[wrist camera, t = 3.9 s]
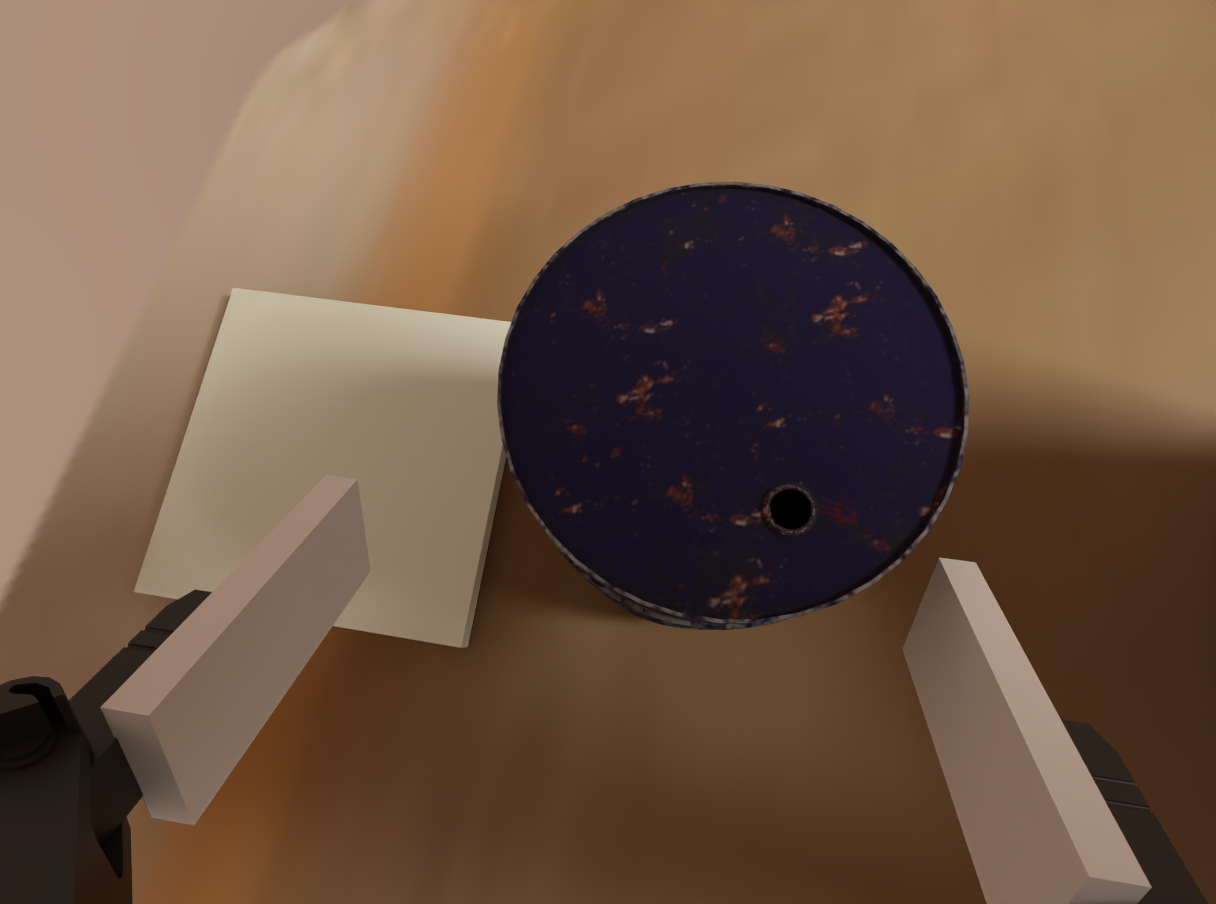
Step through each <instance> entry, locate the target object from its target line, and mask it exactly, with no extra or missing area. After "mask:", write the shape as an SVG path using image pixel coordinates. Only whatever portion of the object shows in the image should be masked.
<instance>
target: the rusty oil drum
mask: <svg viewBox="0 0 1216 904" xmlns="http://www.w3.org/2000/svg"><path fill="white" fill-rule="evenodd" d="M497 409H498V417H499V425H500V433H501V440H502V444H503V447H504V450H505V454H506V457H507V460H508V464H509V467H510V471H511V474H512V476H513V478H514V480H515V482H516V484H517V486H518V488H519V490H520V492H521V494H522V496H523V498H524V500H525V502H526V505H527V506H528V508H529V509H530V511H531V512H532V513H533V515H534V516H535V518H536V519H537V520H538V522H539V523H540V525H541V526H542V528H543V529H544V530H545V532H546V533H547V535H548V536H549V537H550V539H551V540H552V541H553V543H554V544H555V546H556V547H557V549H558V550H559V551H560V553H561V554H562V555H563V556H564V557H565V558H566V559H567V560H568V561H569V562H570V563H571V564H572V565H573V566H574V567H575V568H576V569H577V570H578V571H579V572H580V573H581V575H582V576H583V577H585V578H586V579H587V580H588V581H589V582H590V583H591V584H592V585H594V586H595V587H596V588H598V589H599V590H600V591H602V592H603V593H604V594H605V595H606V596H607V597H609V598H610V599H611V600H613V601H614V602H615V603H617V604H618V605H619V606H621V607H622V608H623V609H625V610H627V611H629V612H631V613H633V614H635V615H637V616H639V617H641V618H643V619H646V620H649V621H652V622H655V623H658V624H661V625H666V626H672V627H679V628H685V629H699V630H731V629H744V628H750V627H756V626H762V625H768V624H774V623H778V622H781V621H784V620H786V619H789V618H794V617H800V616H803V615H806V614H809V613H812V612H815V611H817V610H820V609H823V608H826V607H829V606H832V605H835V604H838V603H840V602H842V601H843V600H845V599H847V598H849V597H851V596H853V595H855V594H856V593H858V592H860V591H862V590H864V589H866V588H867V587H869V586H871V585H873V584H874V583H875V582H877V581H878V580H879V579H880V578H882V577H883V576H884V575H885V574H887V573H888V572H889V571H891V570H892V569H893V568H894V567H896V566H897V565H898V564H899V563H901V562H902V561H903V560H904V559H905V558H906V557H907V556H908V554H909V553H910V552H911V551H912V550H913V549H914V548H915V547H916V545H917V544H918V543H919V542H920V541H921V540H922V539H923V538H924V537H925V535H926V534H927V533H928V532H929V530H930V529H931V527H932V525H933V524H934V522H935V520H936V519H937V517H938V516H939V514H940V512H941V511H942V509H943V507H944V506H945V504H946V503H947V501H948V498H949V496H950V493H951V491H952V488H953V486H954V483H955V481H956V478H957V476H958V473H959V471H960V468H961V464H962V459H963V454H964V449H965V444H966V439H967V434H968V412H969V393H968V386H967V380H966V373H965V366H964V360H963V357H962V354H961V351H960V348H959V345H958V342H957V339H956V336H955V332H954V329H953V327H952V325H951V323H950V321H949V319H948V317H947V315H946V313H945V311H944V309H943V307H942V305H941V303H940V301H939V299H938V297H937V296H936V294H935V293H934V292H933V290H932V289H931V287H930V286H929V285H928V283H927V282H926V281H925V279H924V278H923V276H922V275H921V274H920V272H919V271H918V270H917V268H916V267H915V266H914V265H913V264H912V263H911V262H910V261H909V260H908V259H907V258H906V257H905V256H904V255H903V254H902V253H901V252H900V251H899V250H898V249H897V248H896V247H895V246H894V245H893V244H892V243H891V242H890V241H888V240H887V239H886V238H884V237H883V236H882V235H880V234H879V233H878V232H876V231H875V230H874V229H872V228H871V227H870V226H869V225H867V224H866V223H865V222H863V221H861V220H859V219H857V218H856V217H854V216H852V215H850V214H848V213H847V212H845V211H843V210H841V209H839V208H838V207H836V206H834V205H831V204H829V203H826V202H824V201H821V200H819V199H816V198H813V197H811V196H808V195H806V194H803V193H800V192H795V191H791V190H787V189H783V188H779V187H774V186H770V185H762V184H752V183H742V182H713V183H698V184H692V185H686V186H680V187H674V188H669V189H665V190H662V191H659V192H656V193H652V194H649V195H646V196H643V197H640V198H637V199H634V200H632V201H630V202H628V203H626V204H624V205H622V206H620V207H618V208H616V209H614V210H611V211H609V212H607V213H605V214H604V215H602V216H601V217H600V218H598V219H597V220H595V221H594V222H592V223H591V224H589V225H588V226H586V227H585V228H583V229H582V230H580V231H579V232H578V233H576V234H575V235H574V236H573V237H572V238H571V239H570V240H569V241H568V242H567V243H565V244H564V245H563V246H562V247H561V248H560V249H559V250H558V251H557V252H556V253H554V255H553V256H552V257H551V258H550V260H549V261H548V262H547V263H546V265H545V266H544V267H543V268H542V269H541V271H540V272H539V273H538V274H537V276H536V277H535V278H534V279H533V281H532V283H531V285H530V286H529V288H528V290H527V291H526V293H525V295H524V297H523V298H522V300H521V302H520V303H519V305H518V307H517V309H516V312H515V314H514V317H513V320H512V322H511V325H510V327H509V330H508V333H507V335H506V338H505V342H504V347H503V352H502V356H501V361H500V366H499V371H498V393H497Z"/></svg>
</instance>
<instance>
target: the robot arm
mask: <svg viewBox="0 0 1216 904" xmlns="http://www.w3.org/2000/svg"><path fill="white" fill-rule="evenodd" d="M370 571H371V569H370V562H369V555H368V548H367V541H366V534H365V528H364V521H363V514H362V507H361V500H360V493H359V486H358V479H352V478H345V477H337V476H330V475H326V476H325V477H324V478H323V479H322V480H321V481H320V482H319V483H318V484H317V485H316V486H315V487H314V488H313V489H312V490H311V491H310V492H309V493H308V494H307V495H306V496H305V497H304V498H303V499H302V500H301V501H300V502H299V504H298V505H297V506H296V507H295V508H294V509H293V510H292V511H291V512H290V513H289V514H288V515H287V516H286V517H285V518H284V519H283V520H282V521H281V522H280V523H279V524H278V525H277V526H276V527H275V528H274V529H273V530H272V531H271V532H270V533H269V534H268V535H267V536H266V537H265V539H264V540H263V541H262V542H261V543H260V544H259V545H258V546H257V547H256V548H255V549H254V550H253V551H252V552H251V553H250V554H249V555H248V556H247V557H246V558H245V559H244V560H243V561H242V562H241V563H240V564H239V565H238V566H237V567H236V568H235V569H234V570H233V571H232V572H231V573H230V575H229V576H228V577H227V578H226V579H225V580H224V581H223V582H222V583H221V584H220V585H219V586H218V587H217V588H216V589H215V590H214V591H213V592H209V591H203V590H196V589H195V590H193V591H191V592H190V593H188V594H186V595H185V596H183V597H181V598H179V599H178V600H176V601H174V602H173V603H171V604H169V605H167V606H166V607H165V608H164V609H163V610H162V611H161V612H160V613H159V614H158V615H157V616H156V617H155V618H154V619H153V620H152V621H151V622H150V623H149V624H148V625H146V628H145V630H144V631H143V630H141V631H140V632H139V633H138V634H137V635H136V636H135V637H134V638H133V639H132V640H131V641H130V642H129V643H128V647H127V648H125V647H124V648H123V649H122V650H121V651H120V652H119V653H118V654H117V655H116V656H114V657H113V658H112V659H111V660H110V661H109V662H108V663H107V664H106V665H105V666H104V667H103V668H102V669H101V670H100V671H99V672H98V673H97V674H96V675H95V676H94V677H93V678H92V679H91V680H90V681H89V682H88V683H87V684H86V685H85V686H83V687H82V688H81V689H80V690H79V691H78V692H77V693H76V694H75V695H74V696H73V697H72V698H71V699H70V700H69V701H68V699H67V697H66V695H65V693H64V691H63V689H62V687H61V685H60V683H58V682H56V681H54V680H53V679H51V678H49V677H33V676H32V677H27V678H22V679H17V680H11V681H9V682H6V683H4V684H2V685H0V904H132V866H131V828H130V826H129V823H128V820H127V817H126V816H127V815H128V814H129V813H130V811H131V810H132V809H133V808H134V806H135V805H136V804H137V802H138V801H139V800H140V799H141V797H142V798H143V800H144V802H145V804H146V806H147V809H148V811H149V813H150V815H151V817H152V818H156V819H161V820H167V821H172V822H177V823H183V824H188V825H195V824H196V823H197V821H198V820H199V818H200V817H201V815H202V814H203V813H204V811H205V810H206V808H207V807H208V805H209V804H210V802H211V801H212V800H213V798H214V797H215V795H216V794H217V792H218V791H219V789H220V788H221V787H222V785H223V784H224V782H225V781H226V779H227V778H228V776H229V775H230V774H231V772H232V771H233V769H234V768H235V766H236V765H237V763H238V762H239V761H240V759H241V758H242V756H243V755H244V753H245V752H246V750H247V749H248V748H249V746H250V745H251V743H252V742H253V740H254V739H255V737H256V736H257V735H258V733H259V732H260V730H261V729H262V727H263V726H264V724H265V723H266V722H267V720H268V719H269V717H270V716H271V714H272V713H273V711H274V710H275V709H276V707H277V706H278V704H279V703H280V701H281V700H282V698H283V697H284V696H285V694H286V693H287V691H288V690H289V688H290V687H291V685H292V684H293V683H294V681H295V680H296V678H297V677H298V675H299V674H300V672H301V671H302V670H303V668H304V667H305V665H306V664H307V662H308V661H309V659H310V658H311V657H312V655H313V654H314V652H315V651H316V649H317V648H318V646H319V645H320V644H321V642H322V641H323V639H324V638H325V636H326V635H327V633H328V632H329V631H330V629H331V628H332V626H333V625H334V623H335V622H336V620H337V619H338V618H339V616H340V615H341V613H342V612H343V610H344V609H345V608H346V606H347V605H348V603H349V602H350V600H351V599H352V597H353V596H354V595H355V593H356V592H357V590H358V589H359V587H360V586H361V584H362V583H363V582H364V580H365V579H366V577H367V576H368V574H369V573H370ZM902 650H903V653H904V656H905V659H906V662H907V665H908V668H909V671H910V674H911V677H912V680H913V683H914V686H915V689H916V692H917V695H918V698H919V701H920V704H921V707H922V710H923V713H924V716H925V719H926V722H927V725H928V728H929V731H930V734H931V737H932V740H933V743H934V746H935V749H936V752H937V755H938V758H939V761H940V764H941V767H942V770H943V774H944V777H945V780H946V783H947V786H948V789H949V792H950V795H951V798H952V801H953V804H954V807H955V810H956V813H957V816H958V819H959V822H960V825H961V828H962V831H963V834H964V837H965V840H966V843H967V846H968V849H969V852H970V855H971V858H972V861H973V864H974V867H975V870H976V873H977V876H978V879H979V882H980V885H981V888H982V891H983V894H984V897H985V900H986V903H987V904H1208V903H1207V902H1206V900H1205V898H1204V897H1203V895H1202V893H1201V892H1200V890H1199V888H1198V887H1197V885H1196V883H1195V882H1194V880H1193V878H1192V877H1191V875H1190V873H1189V872H1188V870H1187V868H1186V867H1185V865H1184V863H1183V862H1182V860H1181V858H1180V857H1179V855H1178V853H1177V852H1176V850H1175V848H1174V847H1173V845H1172V843H1171V842H1170V840H1169V838H1168V837H1167V835H1166V833H1165V832H1164V830H1163V828H1162V827H1161V825H1160V823H1159V822H1158V820H1157V818H1156V817H1155V815H1154V813H1153V812H1150V811H1149V805H1148V803H1147V802H1146V800H1145V798H1144V797H1143V795H1142V793H1141V792H1140V790H1139V788H1138V787H1135V786H1134V780H1133V778H1132V776H1131V775H1130V773H1129V771H1128V770H1127V768H1126V766H1125V765H1124V763H1123V761H1122V760H1121V758H1120V756H1119V755H1118V753H1117V752H1116V751H1115V750H1114V749H1113V748H1112V747H1111V746H1110V745H1109V744H1108V743H1107V742H1106V741H1105V740H1104V739H1103V738H1102V737H1101V736H1100V735H1099V734H1098V733H1097V732H1096V731H1095V730H1094V729H1093V728H1092V727H1091V726H1090V725H1089V724H1084V723H1078V722H1071V721H1065V720H1061V719H1060V717H1059V715H1058V713H1057V712H1056V710H1055V708H1054V706H1053V704H1052V702H1051V701H1050V699H1049V697H1048V695H1047V693H1046V691H1045V689H1044V688H1043V686H1042V684H1041V682H1040V680H1039V678H1038V677H1037V675H1036V673H1035V671H1034V669H1033V667H1032V665H1031V664H1030V662H1029V660H1028V658H1027V656H1026V654H1025V653H1024V651H1023V649H1022V647H1021V645H1020V643H1019V641H1018V640H1017V638H1016V636H1015V634H1014V632H1013V630H1012V629H1011V627H1010V625H1009V623H1008V621H1007V619H1006V617H1005V616H1004V614H1003V612H1002V610H1001V608H1000V606H999V605H998V603H997V601H996V599H995V597H994V595H993V593H992V592H991V590H990V588H989V586H988V584H987V582H986V581H985V579H984V577H983V575H982V573H981V571H980V569H979V568H978V566H977V564H976V562H969V561H961V560H954V559H947V558H939V559H938V561H937V564H936V566H935V569H934V571H933V574H932V576H931V579H930V581H929V583H928V586H927V588H926V591H925V593H924V596H923V598H922V601H921V603H920V606H919V608H918V611H917V613H916V616H915V618H914V621H913V623H912V626H911V628H910V631H909V633H908V636H907V638H906V641H905V643H904V646H903V648H902Z"/></svg>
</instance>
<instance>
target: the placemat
mask: <svg viewBox="0 0 1216 904" xmlns="http://www.w3.org/2000/svg"><path fill="white" fill-rule="evenodd" d="M510 325H511V322H507V321H498V320H490V319H482V318H474V317H466V316H458V315H450V314H442V313H434V312H426V311H418V310H409V309H401V308H393V307H385V306H377V305H369V304H361V303H353V302H345V301H337V300H329V299H320V298H312V297H304V296H296V295H288V294H280V293H272V292H264V291H256V290H248V289H240V288H233V290H232V293H231V296H230V299H229V302H228V305H227V308H226V311H225V314H224V317H223V320H222V323H221V326H220V329H219V332H218V335H217V339H216V342H215V345H214V348H213V351H212V354H211V357H210V360H209V363H208V366H207V369H206V372H205V375H204V378H203V381H202V384H201V387H200V390H199V394H198V397H197V400H196V403H195V406H194V409H193V412H192V415H191V418H190V421H189V424H188V427H187V430H186V433H185V436H184V439H183V442H182V445H181V448H180V452H179V455H178V458H177V461H176V464H175V467H174V470H173V473H172V476H171V479H170V482H169V485H168V488H167V491H166V494H165V497H164V500H163V503H162V507H161V510H160V513H159V516H158V519H157V522H156V525H155V528H154V531H153V534H152V537H151V540H150V543H149V546H148V549H147V552H146V555H145V558H144V562H143V565H142V568H141V571H140V574H139V577H138V580H137V583H136V586H135V589H134V592H137V593H142V594H148V595H154V596H160V597H166V598H172V599H179V598H181V597H183V596H185V595H186V594H188V593H190V592H191V591H193V590H195V589H196V590H203V591H209V592H213V591H214V590H215V589H216V588H217V587H218V586H219V585H220V584H221V583H222V582H223V581H224V580H225V579H226V578H227V577H228V576H229V575H230V573H231V572H232V571H233V570H234V569H235V568H236V567H237V566H238V565H239V564H240V563H241V562H242V561H243V560H244V559H245V558H246V557H247V556H248V555H249V554H250V553H251V552H252V551H253V550H254V549H255V548H256V547H257V546H258V545H259V544H260V543H261V542H262V541H263V540H264V539H265V537H266V536H267V535H268V534H269V533H270V532H271V531H272V530H273V529H274V528H275V527H276V526H277V525H278V524H279V523H280V522H281V521H282V520H283V519H284V518H285V517H286V516H287V515H288V514H289V513H290V512H291V511H292V510H293V509H294V508H295V507H296V506H297V505H298V504H299V502H300V501H301V500H302V499H303V498H304V497H305V496H306V495H307V494H308V493H309V492H310V491H311V490H312V489H313V488H314V487H315V486H316V485H317V484H318V483H319V482H320V481H321V480H322V479H323V478H324V477H325V476H326V475H330V476H337V477H345V478H352V479H358V486H359V493H360V500H361V507H362V514H363V521H364V528H365V534H366V541H367V548H368V555H369V562H370V569H371V571H370V573H369V574H368V576H367V577H366V579H365V580H364V582H363V583H362V584H361V586H360V587H359V589H358V590H357V592H356V593H355V595H354V596H353V597H352V599H351V600H350V602H349V603H348V605H347V606H346V608H345V609H344V610H343V612H342V613H341V615H340V616H339V618H338V619H337V620H336V622H335V623H334V625H333V626H336V627H342V628H348V629H354V630H360V631H365V632H371V633H377V634H383V635H389V636H395V637H401V638H406V639H412V640H418V641H424V642H430V643H436V644H442V645H448V646H453V647H459V648H464V647H468V644H469V639H470V634H471V629H472V624H473V619H474V614H475V609H476V604H477V599H478V594H479V589H480V584H481V579H482V574H483V569H484V564H485V559H486V554H487V550H488V545H489V540H490V535H491V530H492V525H493V520H494V515H495V510H496V505H497V500H498V495H499V490H500V485H501V480H502V475H503V470H504V465H505V460H506V454H505V450H504V447H503V444H502V440H501V433H500V425H499V417H498V409H497V393H498V371H499V366H500V361H501V356H502V352H503V347H504V342H505V338H506V335H507V333H508V330H509V327H510Z"/></svg>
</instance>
